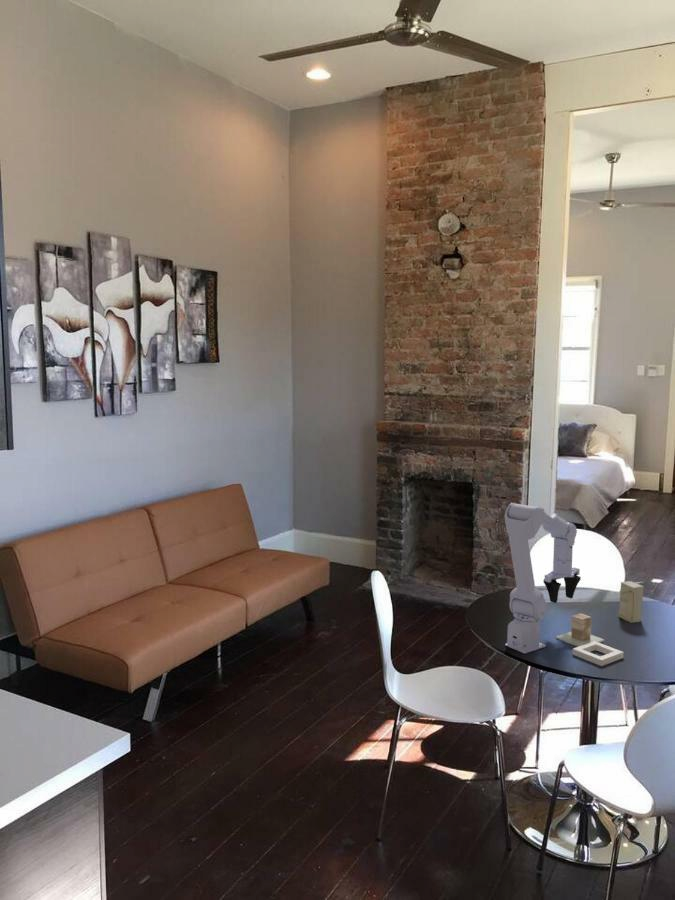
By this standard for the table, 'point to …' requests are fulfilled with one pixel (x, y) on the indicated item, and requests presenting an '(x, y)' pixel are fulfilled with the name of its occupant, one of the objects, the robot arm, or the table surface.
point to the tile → (568, 639)
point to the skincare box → (631, 601)
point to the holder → (599, 660)
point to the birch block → (581, 627)
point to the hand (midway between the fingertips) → (561, 599)
